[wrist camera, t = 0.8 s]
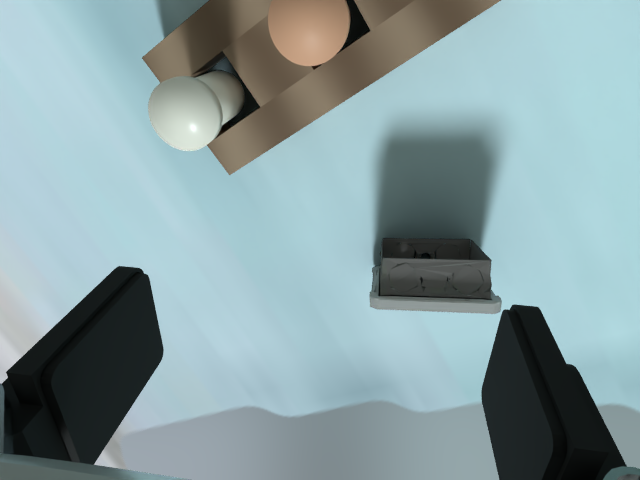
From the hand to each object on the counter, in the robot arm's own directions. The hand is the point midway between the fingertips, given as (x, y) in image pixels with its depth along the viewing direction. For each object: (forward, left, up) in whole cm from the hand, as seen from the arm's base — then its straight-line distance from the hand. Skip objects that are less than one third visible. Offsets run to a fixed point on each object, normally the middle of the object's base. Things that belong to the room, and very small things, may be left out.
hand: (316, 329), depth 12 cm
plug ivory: (+7, -7, -23) cm, 25 cm away
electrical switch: (+1, +13, -26) cm, 29 cm away
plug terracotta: (-2, -7, -23) cm, 24 cm away
